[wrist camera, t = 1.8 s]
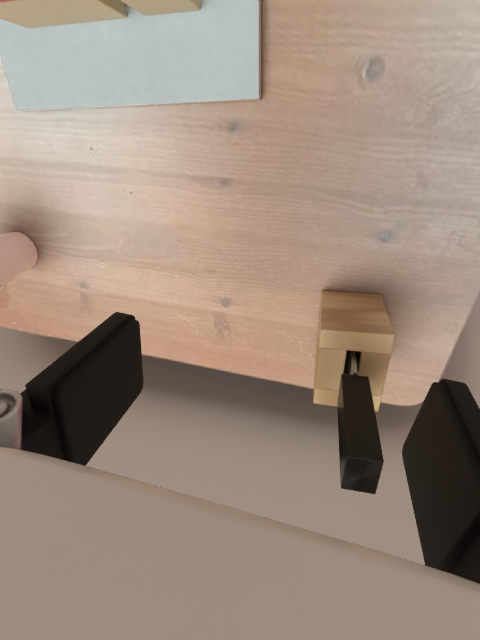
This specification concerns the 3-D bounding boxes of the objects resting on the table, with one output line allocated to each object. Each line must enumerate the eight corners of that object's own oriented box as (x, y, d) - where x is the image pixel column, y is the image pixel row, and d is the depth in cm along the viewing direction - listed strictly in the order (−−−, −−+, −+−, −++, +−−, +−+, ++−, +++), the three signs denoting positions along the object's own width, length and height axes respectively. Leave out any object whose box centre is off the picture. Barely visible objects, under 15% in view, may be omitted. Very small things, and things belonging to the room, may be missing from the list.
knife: (358, 313, 31) (384, 458, 17) (354, 341, 32) (374, 497, 18) (337, 311, 31) (347, 453, 17) (334, 339, 32) (340, 491, 19)
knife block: (381, 293, 29) (395, 335, 23) (368, 360, 33) (378, 412, 27) (321, 290, 30) (320, 329, 24) (315, 355, 34) (313, 403, 28)
